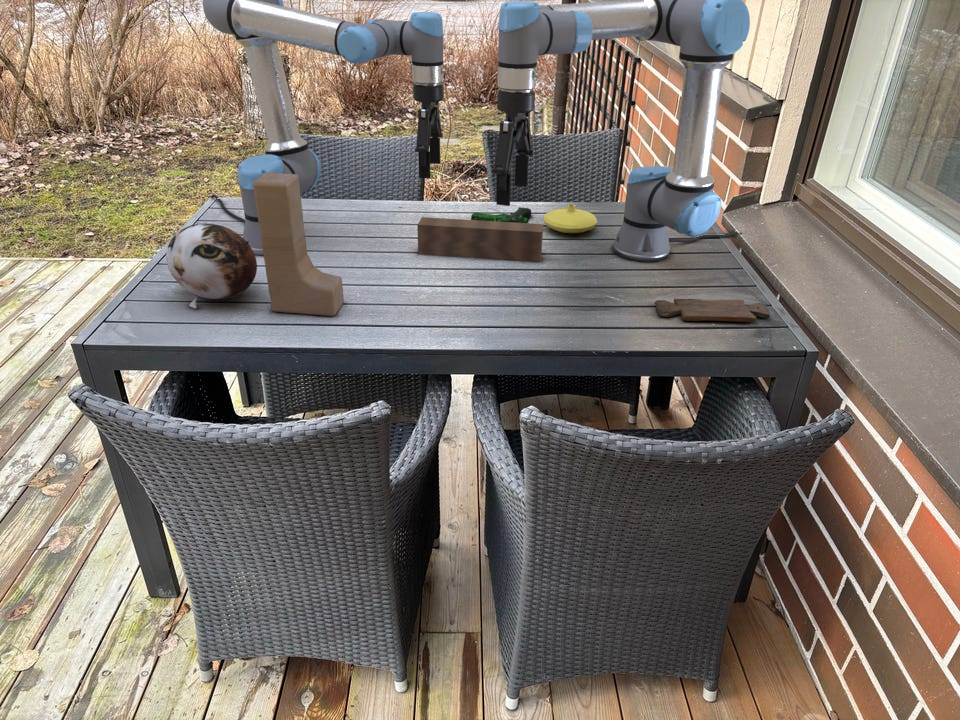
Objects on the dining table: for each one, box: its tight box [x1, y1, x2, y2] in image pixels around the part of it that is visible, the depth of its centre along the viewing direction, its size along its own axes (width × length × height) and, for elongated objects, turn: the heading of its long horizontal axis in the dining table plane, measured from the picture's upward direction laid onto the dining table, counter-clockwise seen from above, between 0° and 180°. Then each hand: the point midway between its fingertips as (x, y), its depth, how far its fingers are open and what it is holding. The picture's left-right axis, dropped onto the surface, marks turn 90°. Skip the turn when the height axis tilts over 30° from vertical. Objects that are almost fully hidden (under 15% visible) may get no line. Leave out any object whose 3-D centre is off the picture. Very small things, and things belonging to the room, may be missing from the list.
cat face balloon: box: [165, 222, 258, 309], centre depth 165 cm, size 22×18×20 cm
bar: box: [416, 216, 544, 263], centre depth 192 cm, size 33×6×8 cm, turn 83°
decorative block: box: [253, 173, 345, 317], centre depth 157 cm, size 8×15×30 cm, turn 82°
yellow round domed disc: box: [543, 203, 598, 234], centre depth 209 cm, size 16×16×7 cm
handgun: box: [470, 206, 532, 223], centre depth 216 cm, size 16×3×15 cm
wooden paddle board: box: [654, 298, 771, 323], centre depth 165 cm, size 26×2×10 cm
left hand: (430, 170), depth 184 cm, fingers open, 13 cm apart
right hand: (512, 195), depth 151 cm, fingers open, 13 cm apart
